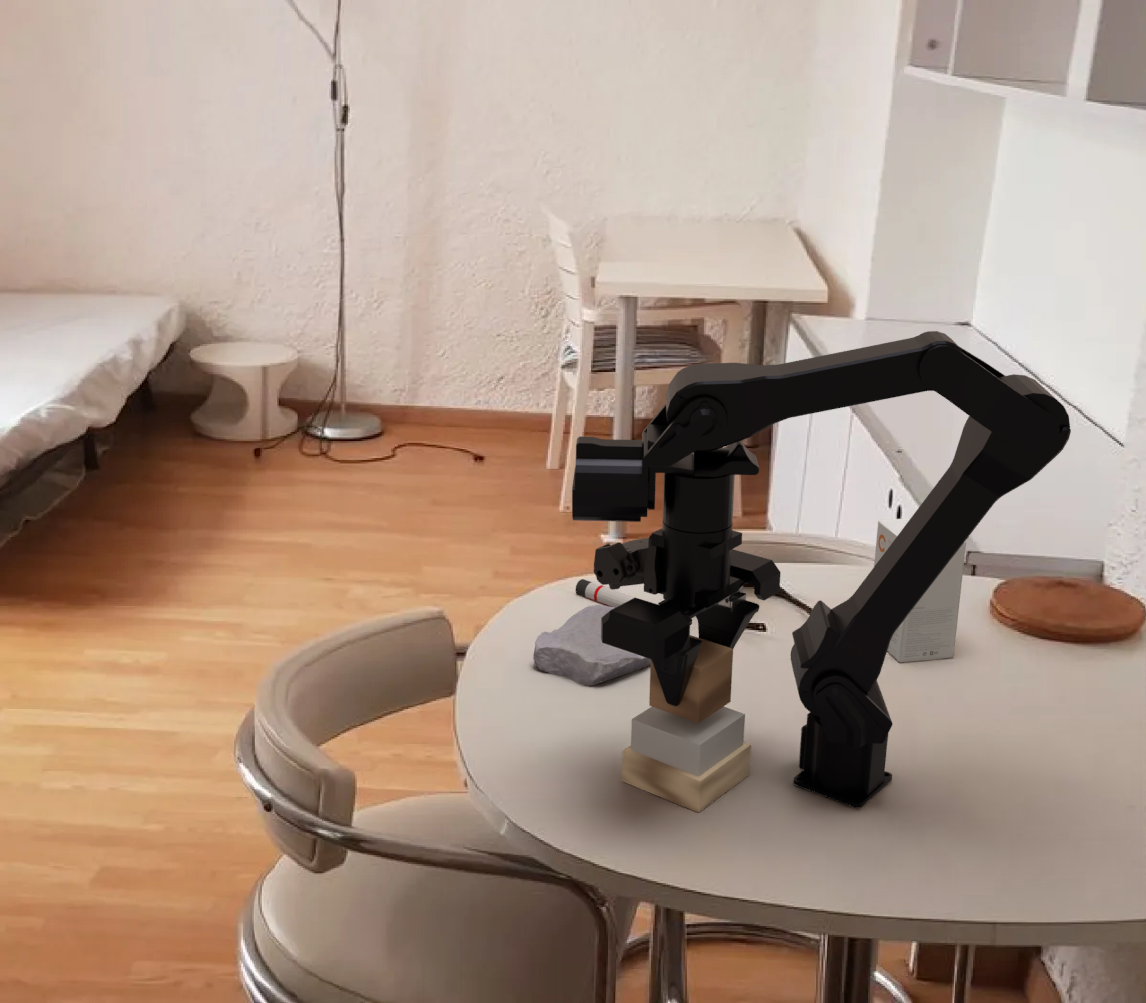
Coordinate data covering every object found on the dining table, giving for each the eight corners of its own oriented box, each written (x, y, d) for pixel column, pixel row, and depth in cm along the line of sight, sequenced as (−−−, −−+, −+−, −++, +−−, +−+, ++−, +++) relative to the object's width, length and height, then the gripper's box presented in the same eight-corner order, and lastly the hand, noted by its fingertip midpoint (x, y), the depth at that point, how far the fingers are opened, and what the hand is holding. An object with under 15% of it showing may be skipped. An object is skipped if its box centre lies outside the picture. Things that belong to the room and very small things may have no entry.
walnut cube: (730, 701, 120) (733, 648, 118) (698, 723, 116) (700, 669, 114) (682, 685, 123) (684, 633, 121) (649, 705, 119) (650, 652, 117)
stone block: (667, 669, 147) (591, 628, 151) (675, 631, 144) (598, 590, 149) (602, 715, 138) (523, 670, 142) (610, 675, 135) (530, 630, 140)
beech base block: (749, 774, 122) (751, 744, 121) (698, 812, 116) (700, 781, 115) (674, 746, 127) (675, 716, 126) (621, 781, 121) (622, 750, 120)
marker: (575, 597, 160) (575, 581, 159) (586, 592, 161) (586, 576, 161) (679, 636, 150) (680, 619, 150) (690, 631, 152) (691, 614, 151)
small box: (954, 658, 145) (968, 542, 141) (898, 664, 144) (910, 546, 140) (920, 627, 153) (931, 515, 148) (866, 631, 151) (876, 519, 147)
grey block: (743, 744, 121) (745, 714, 120) (698, 776, 116) (700, 744, 115) (676, 720, 125) (677, 690, 124) (630, 750, 120) (631, 719, 119)
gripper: (680, 474, 125) (674, 632, 131) (548, 530, 112) (548, 704, 117) (788, 500, 119) (777, 666, 124) (663, 563, 105) (657, 746, 110)
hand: (690, 693), depth 119 cm, fingers closed on walnut cube, 5 cm apart
